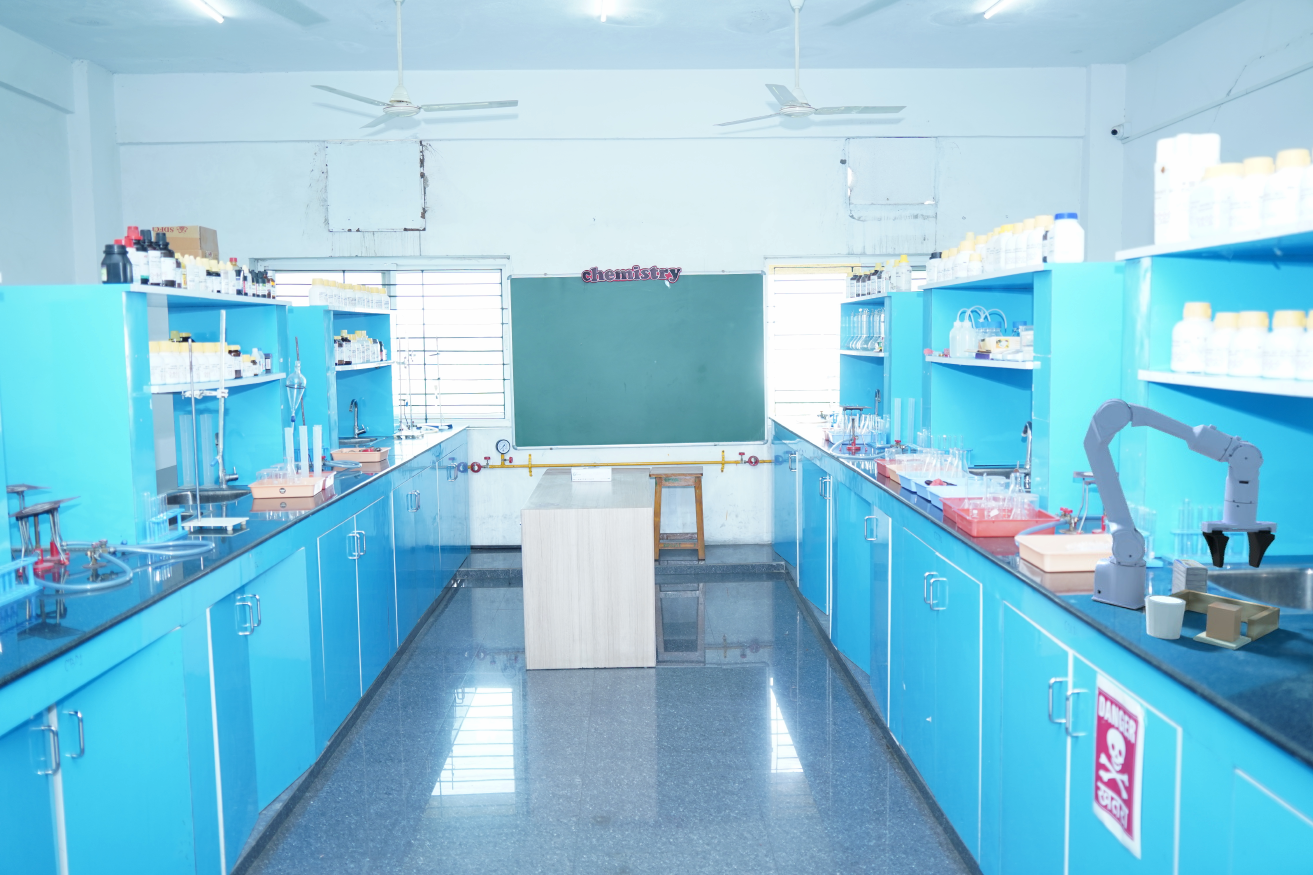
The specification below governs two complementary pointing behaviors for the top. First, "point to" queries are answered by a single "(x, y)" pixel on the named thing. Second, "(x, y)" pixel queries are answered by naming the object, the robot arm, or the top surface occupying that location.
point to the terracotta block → (1224, 621)
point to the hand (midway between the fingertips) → (1235, 566)
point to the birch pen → (1253, 614)
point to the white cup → (1164, 616)
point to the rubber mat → (1222, 641)
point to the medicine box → (1189, 576)
